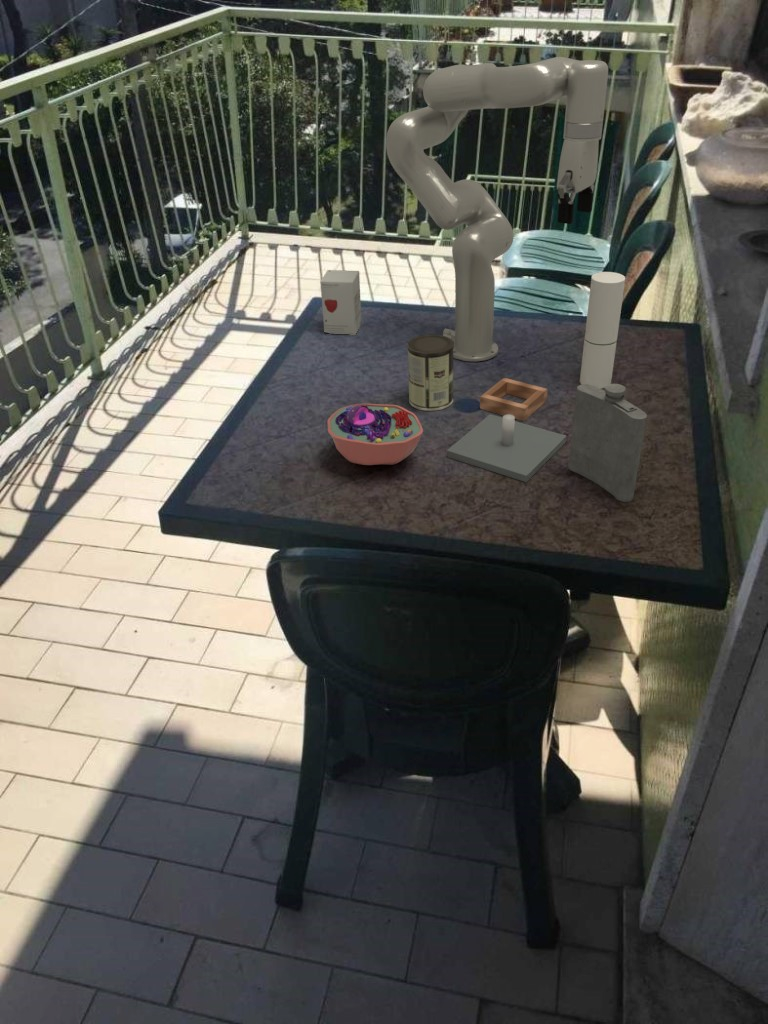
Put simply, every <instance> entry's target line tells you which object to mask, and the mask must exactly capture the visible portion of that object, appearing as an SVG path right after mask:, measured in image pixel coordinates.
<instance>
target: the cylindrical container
mask: <svg viewBox="0 0 768 1024" xmlns="http://www.w3.org/2000/svg"><path fill="white" fill-rule="evenodd" d="M590 280H591V281H590V287H589V288H590V289H589V297H588V305H587V314H586V322H585V323H586V324H585V330H584V331H585V332H584V341H583V349H582V351H583V352H582V358H581V367H580V368H581V369H580V375H579V376H580V377H579V383H580V385H582V384H588V385H592V386H594V387H597V388H600V389H605V387H606V385H608V384H612V378H613V372H614V363H615V356H616V349H617V341H618V335H619V327H620V321H621V315H622V314H621V313H622V312H621V311H622V305H623V297H624V292H625V291H624V290H625V283H626V276H624V275H623V274H621V273H619V272H615V271H614V272H613V271H601V272H595V273H594V274H592V275H591V278H590Z"/></svg>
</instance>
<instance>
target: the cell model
mask: <svg viewBox="0 0 768 1024" xmlns="http://www.w3.org/2000/svg"><path fill="white" fill-rule="evenodd" d="M326 422H327V431H328V434H329V435H330V436H331V438H332V440H333V442H334V445H335V448H336V450H337V451H338V452H339V454H341V455H342V456H343V457H344V458H345V459H346V460H347V461H349V462H350V463H353V464H356V465H357V464H358V465H361V466H374V465H388V466H392V465H396V464H399V463H400V462H402V461H404V460H405V459H406V458H408V457H409V456H410V455H411V454H412V453H413V452H414V451H415V449H417V445H418V444H419V442H420V440H421V437H422V435H423V432H424V430H423V429H424V428H423V426H422V424H421V421H420V420H419V418H418V417H417V415H416V414H415V413H414V412H412V411H410V410H408V409H406V408H405V407H403V406H401V405H396V404H382V403H381V404H379V403H377V404H376V403H354V404H351V405H346V406H343V407H341V408H339V409H337V410H336V411H334V412H333V413H332V414H331V415H330V417H328V419H327V421H326Z"/></svg>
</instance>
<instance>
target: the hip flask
mask: <svg viewBox="0 0 768 1024" xmlns="http://www.w3.org/2000/svg"><path fill="white" fill-rule="evenodd" d="M626 389H627V388H626V386H624V385H622V384H619V383H611V384H608V385H606V387H605V388H604V389H603V388H601V389H600V388H597V387H594V386H592V385H588V384H580V385H577V386H576V393H575V394H576V396H575V402H574V413H573V421H572V431H571V441H570V449H569V455H568V456H569V458H568V466H567V468H568V469H569V471H571V472H572V473H573V472H574V473H576V474H578V475H580V476H582V477H584V478H586V479H588V480H590V481H592V482H593V483H595V484H596V485H598V486H600V487H601V488H602V489H604V490H605V491H606V492H608V493H609V494H610V495H612V496H613V497H614V498H615V499H616V500H618V501H620V502H622V503H629V502H631V501H632V500H633V499H634V495H635V489H636V485H637V484H636V483H637V478H638V470H639V465H640V460H641V459H640V458H641V453H642V448H643V442H644V436H645V431H646V430H645V429H646V425H647V418H648V414H647V413H646V412H645V411H644V410H642V409H641V408H639V407H637V406H636V405H634V404H633V403H631V402H629V401H628V400H626V399H625V398H624V397H625V394H626Z"/></svg>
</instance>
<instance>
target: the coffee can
mask: <svg viewBox="0 0 768 1024" xmlns="http://www.w3.org/2000/svg"><path fill="white" fill-rule="evenodd" d="M453 348H454V342H453V340H452V339H450V338H448V337H446V336H443V334H421V335H418V336H414V337H412V338H410V339H408V342H407V343H406V349H407V364H408V365H407V366H408V367H407V368H408V396H409V397H408V403H409V405H410V406H411V407H412V408H415V409H417V410H421V411H426V412H427V411H428V412H436V411H441V410H445V409H447V408H449V407H450V406H451V405H452V404H453V403H454V357H453Z"/></svg>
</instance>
